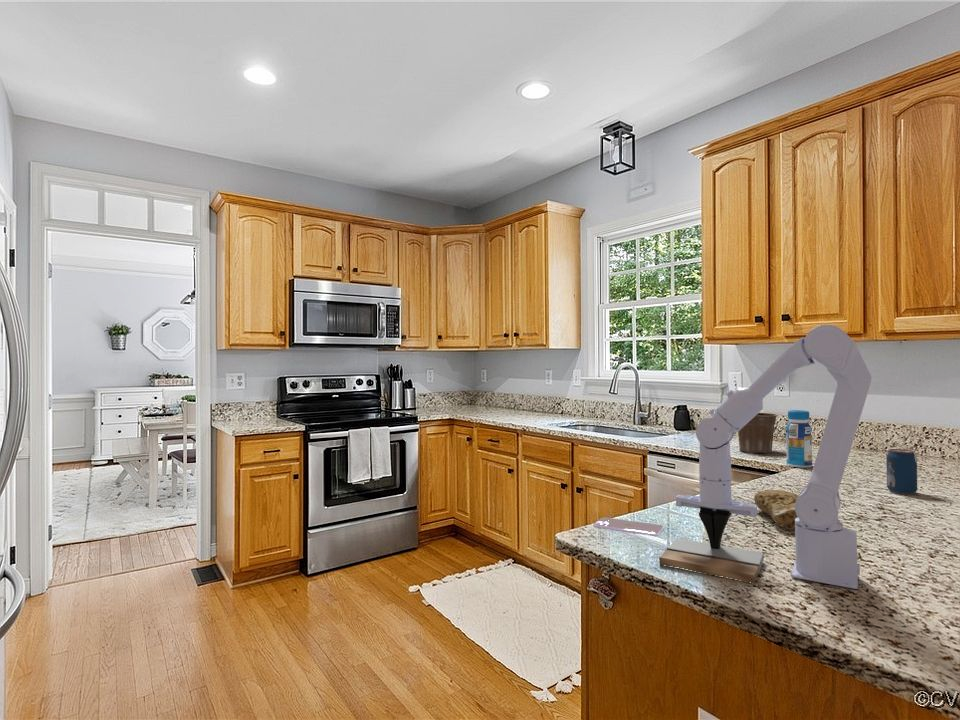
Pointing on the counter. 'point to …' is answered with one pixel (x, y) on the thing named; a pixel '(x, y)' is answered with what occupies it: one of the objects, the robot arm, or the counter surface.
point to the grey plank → (719, 551)
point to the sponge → (778, 506)
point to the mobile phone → (629, 526)
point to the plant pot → (758, 434)
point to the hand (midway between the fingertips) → (715, 547)
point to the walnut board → (710, 564)
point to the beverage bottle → (799, 439)
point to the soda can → (901, 471)
